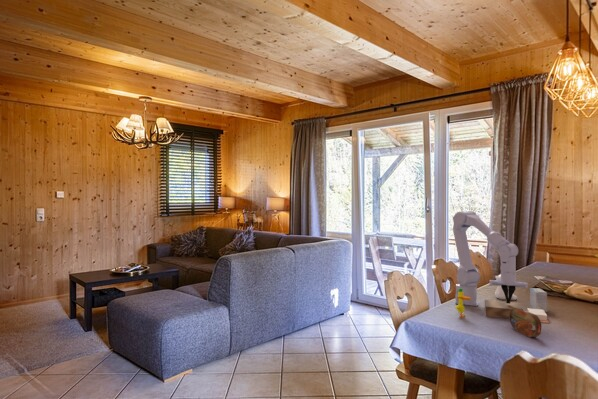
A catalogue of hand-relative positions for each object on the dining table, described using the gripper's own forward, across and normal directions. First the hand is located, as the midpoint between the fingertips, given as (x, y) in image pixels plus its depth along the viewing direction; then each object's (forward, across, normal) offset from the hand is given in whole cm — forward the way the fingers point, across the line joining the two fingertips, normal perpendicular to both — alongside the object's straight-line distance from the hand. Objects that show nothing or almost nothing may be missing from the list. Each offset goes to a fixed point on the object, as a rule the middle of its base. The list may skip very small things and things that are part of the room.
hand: (508, 302), depth 168 cm
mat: (+5, +10, 0) cm, 11 cm away
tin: (+5, +4, -23) cm, 24 cm away
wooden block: (+5, -2, 0) cm, 5 cm away
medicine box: (+5, +13, +14) cm, 20 cm away
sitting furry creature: (+5, 0, +29) cm, 29 cm away
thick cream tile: (+3, +11, 0) cm, 11 cm away
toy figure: (+5, -18, -11) cm, 22 cm away
